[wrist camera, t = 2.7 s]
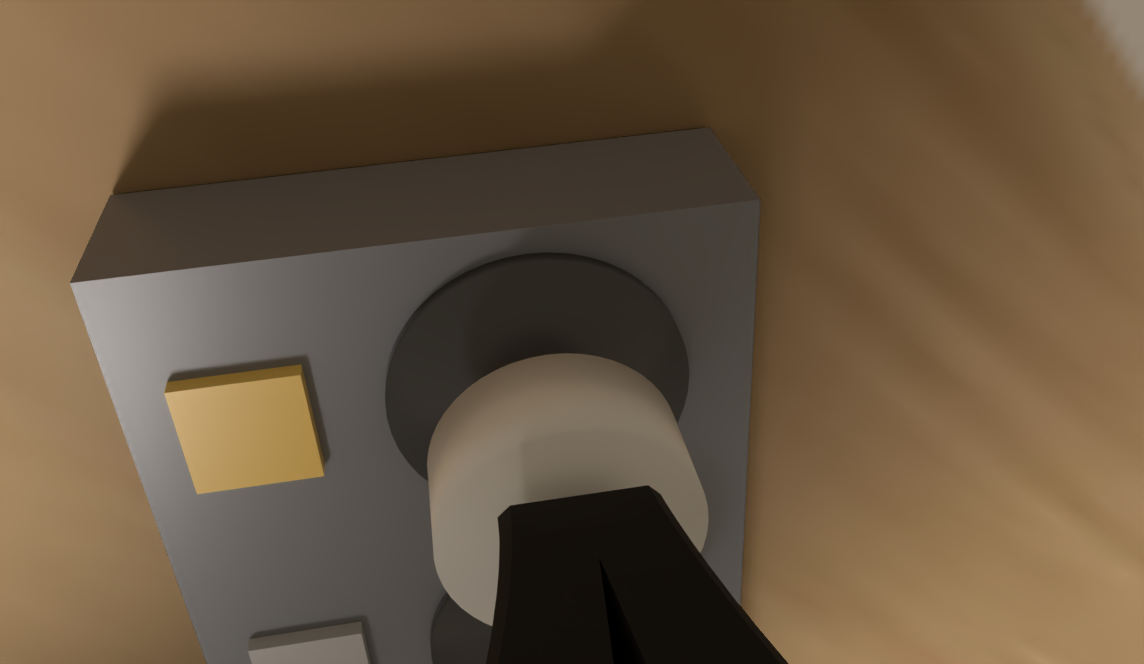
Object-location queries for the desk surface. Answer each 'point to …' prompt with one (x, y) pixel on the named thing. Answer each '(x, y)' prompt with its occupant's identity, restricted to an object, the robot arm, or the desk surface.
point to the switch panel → (401, 364)
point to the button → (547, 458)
